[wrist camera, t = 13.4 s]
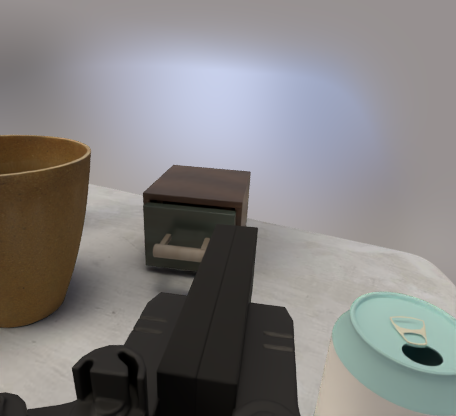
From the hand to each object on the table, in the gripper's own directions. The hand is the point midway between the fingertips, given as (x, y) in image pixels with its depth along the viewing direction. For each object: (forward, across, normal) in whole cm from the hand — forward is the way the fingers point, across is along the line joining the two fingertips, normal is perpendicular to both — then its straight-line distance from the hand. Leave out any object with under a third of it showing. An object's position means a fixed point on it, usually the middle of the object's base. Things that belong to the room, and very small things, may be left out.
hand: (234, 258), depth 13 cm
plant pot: (+15, -22, -17) cm, 32 cm away
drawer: (+26, -7, -16) cm, 32 cm away
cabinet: (+31, -8, -17) cm, 36 cm away
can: (+4, +9, -17) cm, 20 cm away
